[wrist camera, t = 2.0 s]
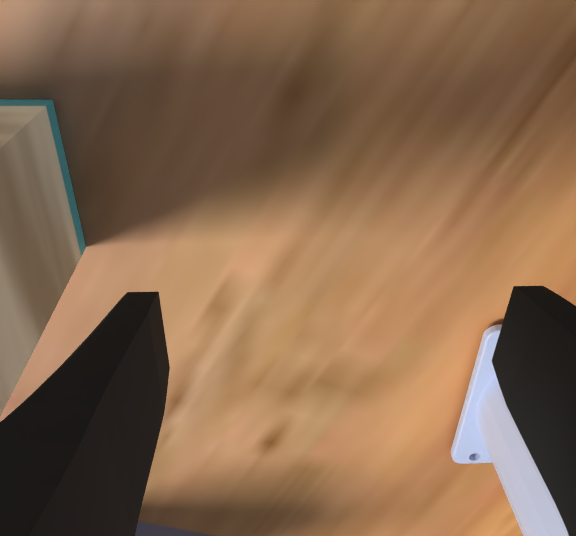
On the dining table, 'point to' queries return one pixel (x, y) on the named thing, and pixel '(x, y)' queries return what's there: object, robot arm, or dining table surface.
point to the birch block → (32, 230)
